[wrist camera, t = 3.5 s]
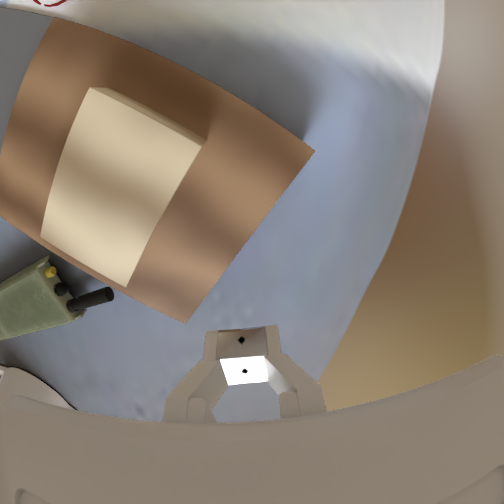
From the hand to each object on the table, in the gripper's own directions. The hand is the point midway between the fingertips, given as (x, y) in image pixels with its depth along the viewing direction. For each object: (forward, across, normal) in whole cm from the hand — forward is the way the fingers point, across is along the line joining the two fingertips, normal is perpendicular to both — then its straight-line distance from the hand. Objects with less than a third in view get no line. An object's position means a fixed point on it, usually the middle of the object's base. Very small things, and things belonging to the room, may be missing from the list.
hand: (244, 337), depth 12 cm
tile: (+8, +7, -6) cm, 12 cm away
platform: (+11, +8, -6) cm, 15 cm away
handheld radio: (+9, +24, +8) cm, 27 cm away
